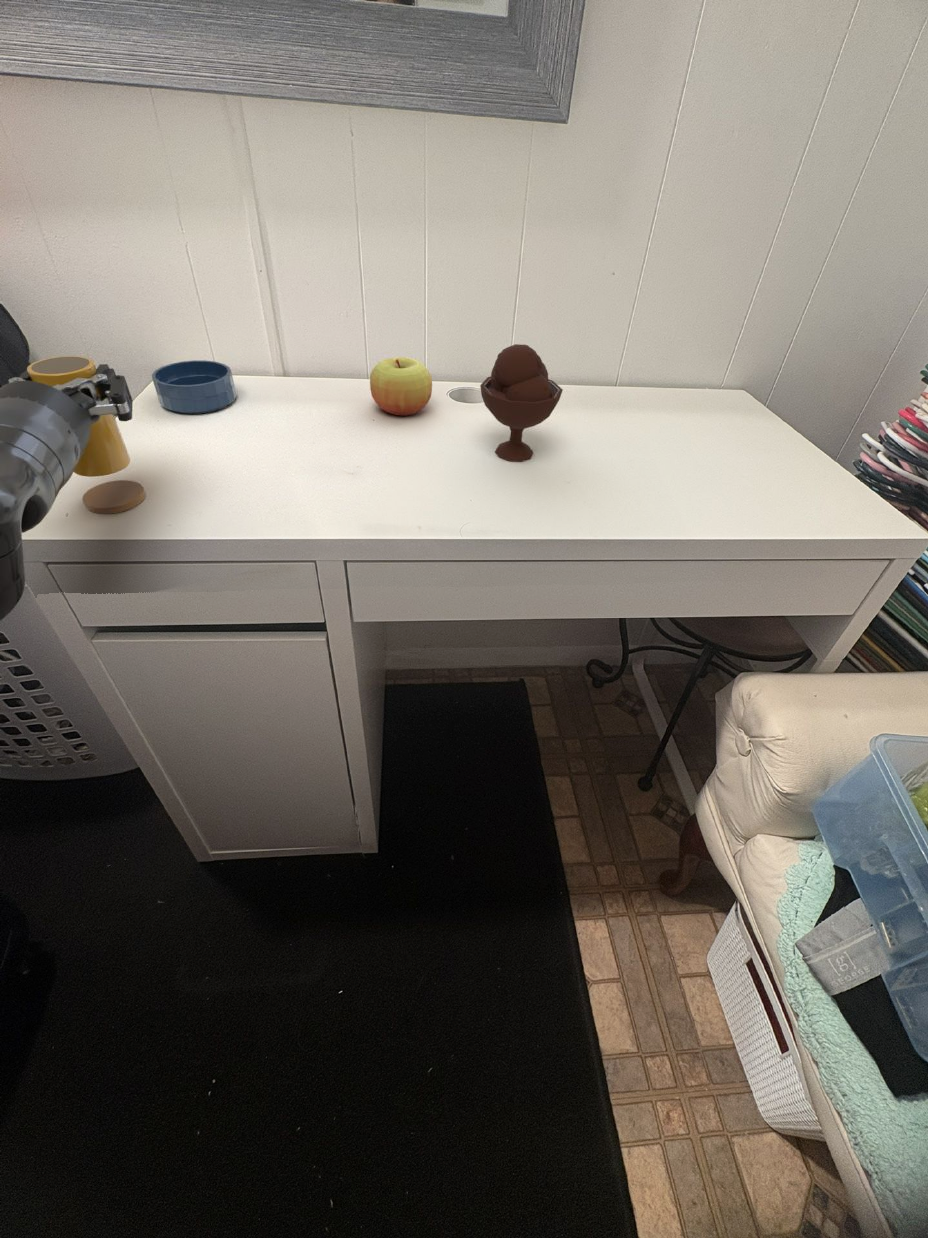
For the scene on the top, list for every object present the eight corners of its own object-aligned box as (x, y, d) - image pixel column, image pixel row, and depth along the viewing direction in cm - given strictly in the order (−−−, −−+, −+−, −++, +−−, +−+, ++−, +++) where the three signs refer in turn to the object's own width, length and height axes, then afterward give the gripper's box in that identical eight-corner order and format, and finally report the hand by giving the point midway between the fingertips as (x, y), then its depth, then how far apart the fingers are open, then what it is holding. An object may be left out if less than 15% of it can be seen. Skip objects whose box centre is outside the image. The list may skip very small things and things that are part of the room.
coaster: (84, 518, 65) (81, 512, 65) (85, 491, 69) (82, 485, 69) (147, 507, 67) (145, 501, 67) (144, 482, 72) (142, 476, 71)
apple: (366, 419, 89) (362, 366, 83) (376, 396, 96) (373, 346, 90) (429, 423, 89) (429, 370, 83) (434, 399, 96) (434, 349, 90)
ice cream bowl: (555, 472, 79) (575, 359, 69) (475, 468, 78) (483, 354, 68) (549, 439, 86) (565, 333, 76) (476, 435, 86) (482, 328, 76)
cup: (71, 480, 62) (23, 377, 55) (73, 457, 66) (29, 358, 59) (131, 471, 64) (93, 371, 57) (129, 449, 68) (94, 353, 61)
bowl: (163, 420, 85) (154, 389, 82) (158, 392, 93) (149, 364, 90) (242, 410, 89) (235, 381, 86) (231, 384, 97) (225, 357, 94)
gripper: (103, 393, 48) (134, 335, 60) (-97, 403, 45) (-23, 339, 57) (134, 474, 53) (157, 405, 65) (-45, 488, 50) (14, 413, 62)
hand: (73, 375), depth 61 cm, fingers closed on cup, 6 cm apart
